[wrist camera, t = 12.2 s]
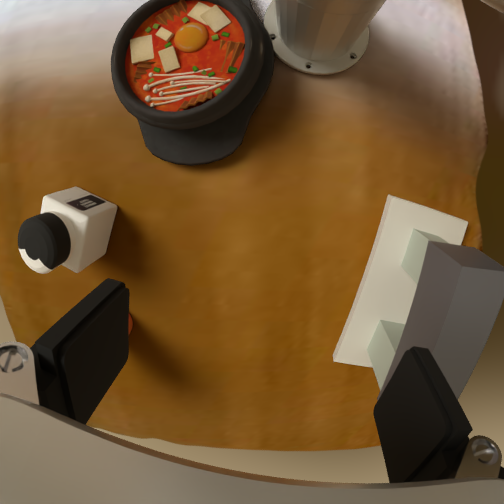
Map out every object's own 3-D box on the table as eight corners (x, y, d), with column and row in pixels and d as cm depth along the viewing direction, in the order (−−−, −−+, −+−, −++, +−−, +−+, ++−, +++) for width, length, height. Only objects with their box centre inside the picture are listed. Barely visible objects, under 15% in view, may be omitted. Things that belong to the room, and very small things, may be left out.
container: (76, 185, 40) (14, 203, 28) (119, 205, 41) (62, 230, 28) (65, 233, 43) (8, 263, 30) (106, 254, 43) (53, 292, 31)
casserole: (273, 165, 37) (270, 170, 29) (127, 166, 39) (94, 173, 31) (275, -20, 29) (272, -53, 21) (136, -5, 31) (108, -28, 23)
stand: (388, 194, 37) (421, 211, 27) (462, 219, 37) (506, 242, 27) (332, 355, 45) (341, 405, 35) (402, 365, 44) (421, 411, 35)
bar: (428, 240, 28) (462, 266, 21) (474, 247, 27) (511, 272, 21) (377, 398, 34) (389, 440, 28) (418, 397, 34) (434, 436, 27)
